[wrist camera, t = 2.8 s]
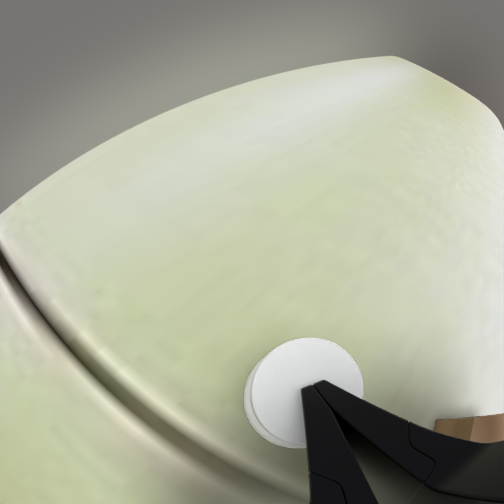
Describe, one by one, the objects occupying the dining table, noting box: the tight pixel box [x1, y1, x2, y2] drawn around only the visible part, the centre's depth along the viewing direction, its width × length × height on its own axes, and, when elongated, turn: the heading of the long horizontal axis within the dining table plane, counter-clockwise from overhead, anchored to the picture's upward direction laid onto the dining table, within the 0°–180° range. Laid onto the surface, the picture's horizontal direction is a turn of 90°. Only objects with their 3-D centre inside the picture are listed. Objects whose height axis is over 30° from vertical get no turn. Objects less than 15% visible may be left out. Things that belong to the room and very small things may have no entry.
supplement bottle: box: [244, 337, 364, 448], centre depth 12 cm, size 5×5×8 cm
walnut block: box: [434, 413, 504, 443], centre depth 11 cm, size 4×4×4 cm
